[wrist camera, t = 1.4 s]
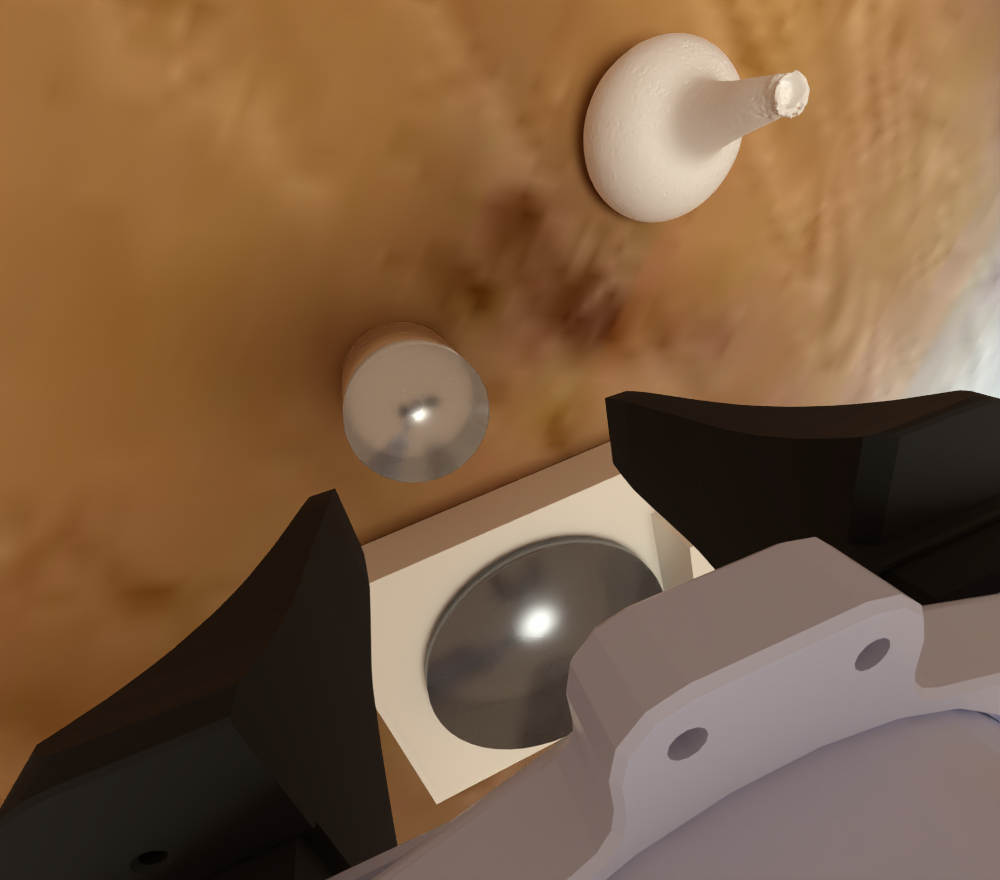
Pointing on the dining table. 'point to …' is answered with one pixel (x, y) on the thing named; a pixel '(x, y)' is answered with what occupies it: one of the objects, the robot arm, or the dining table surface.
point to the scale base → (464, 554)
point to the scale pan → (526, 638)
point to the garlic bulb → (676, 124)
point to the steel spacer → (411, 403)
